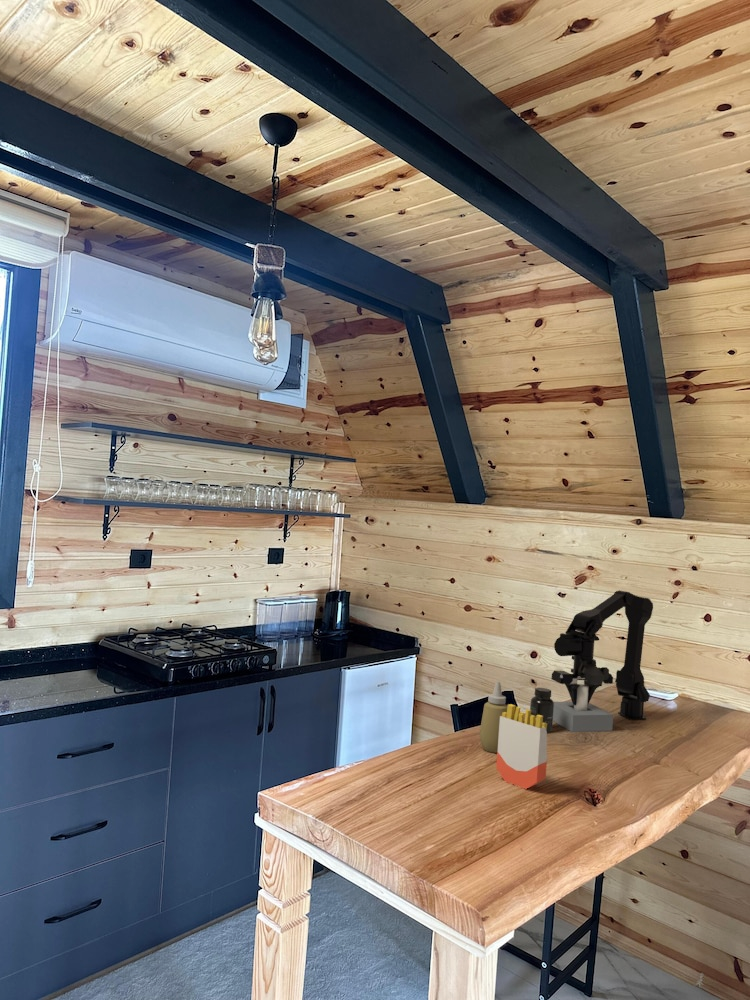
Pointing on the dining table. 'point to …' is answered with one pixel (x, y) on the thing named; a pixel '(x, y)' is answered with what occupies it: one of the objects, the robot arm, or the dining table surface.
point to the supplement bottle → (543, 706)
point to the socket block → (582, 718)
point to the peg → (582, 698)
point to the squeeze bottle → (492, 719)
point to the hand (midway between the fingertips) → (580, 704)
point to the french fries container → (522, 747)
